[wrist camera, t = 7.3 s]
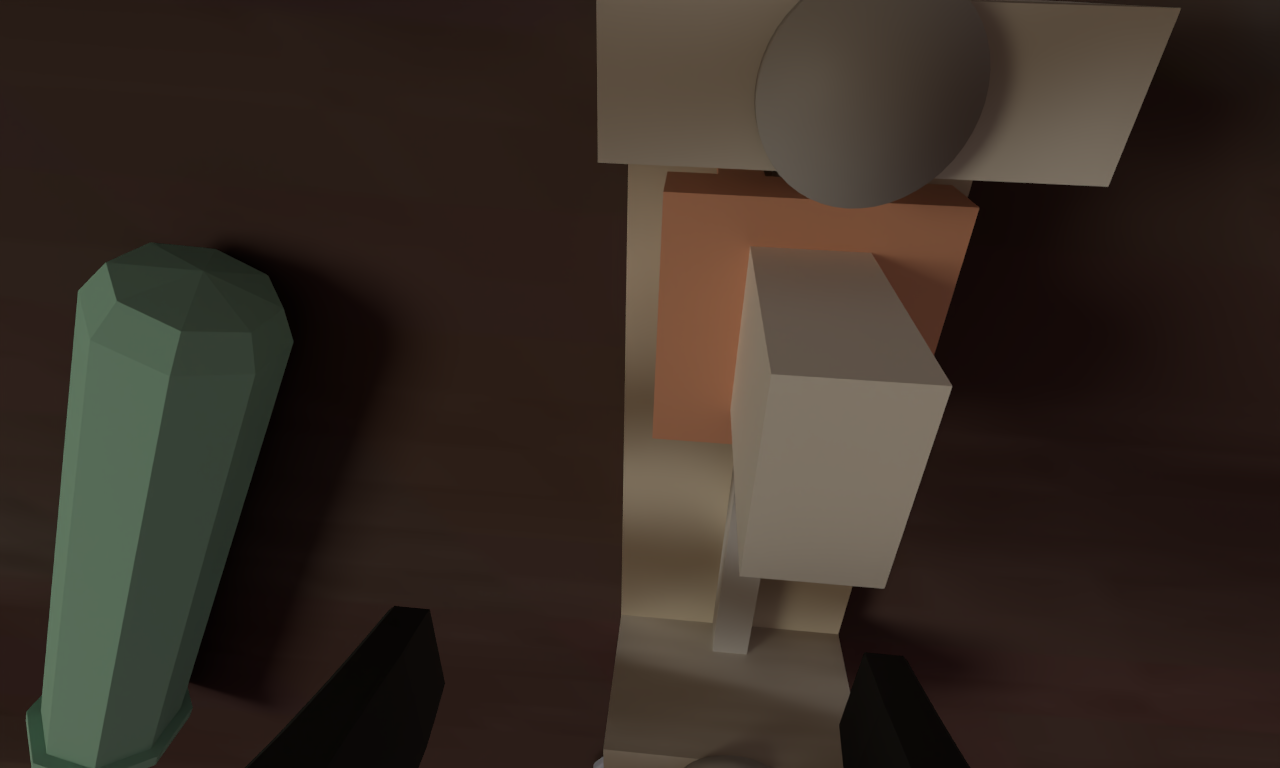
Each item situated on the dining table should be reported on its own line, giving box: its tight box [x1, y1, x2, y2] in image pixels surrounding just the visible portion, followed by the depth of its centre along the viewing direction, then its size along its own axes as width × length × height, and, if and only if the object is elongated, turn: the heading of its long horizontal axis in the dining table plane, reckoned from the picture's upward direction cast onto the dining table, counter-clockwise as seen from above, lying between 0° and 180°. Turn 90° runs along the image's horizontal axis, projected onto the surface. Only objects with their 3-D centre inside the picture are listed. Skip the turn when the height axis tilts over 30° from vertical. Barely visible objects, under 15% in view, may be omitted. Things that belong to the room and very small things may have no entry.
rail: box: [597, 0, 1181, 768], centre depth 17 cm, size 23×8×7 cm, turn 179°
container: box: [26, 242, 294, 768], centre depth 23 cm, size 6×6×25 cm
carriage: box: [652, 168, 979, 589], centre depth 13 cm, size 6×6×8 cm
